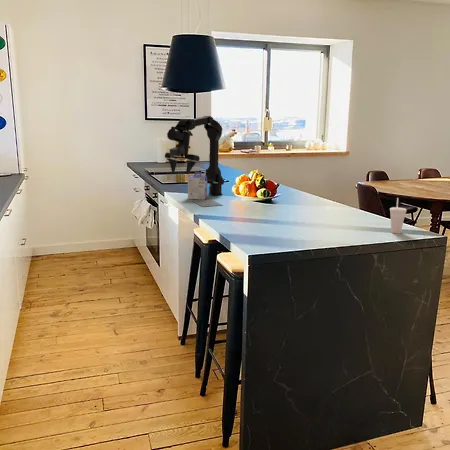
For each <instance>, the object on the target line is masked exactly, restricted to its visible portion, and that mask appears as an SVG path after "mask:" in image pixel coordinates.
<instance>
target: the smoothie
mask: <svg viewBox="0 0 450 450" xmlns="http://www.w3.org/2000/svg"><path fill="white" fill-rule="evenodd" d="M389 211H390V213H389V214H390V215H389V216H390V233H392V234H396V235H397V234H401V233H402V230H403V225H404V220H405V218H406V213H407V208H404V207H399V197H396V206H392V207H390V208H389Z"/></svg>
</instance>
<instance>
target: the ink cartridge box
mask: <svg viewBox="0 0 450 450" xmlns="http://www.w3.org/2000/svg"><path fill="white" fill-rule="evenodd" d="M187 200H208V184H207V176H202V172H201V171H195V172H194V175H190V176H187Z"/></svg>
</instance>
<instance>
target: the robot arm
mask: <svg viewBox="0 0 450 450" xmlns="http://www.w3.org/2000/svg"><path fill="white" fill-rule="evenodd" d="M200 126H203V128H204V129H205V131H206V136H207V138H208V139H209V159H208V160H209V161H208V164H209V165H208V168H206V169H205V176H207V185H208V184H209V186H208V192H207V195H210V196H223V193H222V189H223V188H222V186H223V185H225V179H224V178H223V176H222V170H221V169H220V167H219V143H220V142H219V141H220V139H221V137H222V134H223V133H222V132H223V126H222V125H221V124H220V123H219V122H218V121H217V120H216V119H214V117H213V116H211V115H204V116H201V117H196V118H179V119H178V122H177V124H176V125H175V126H171V127H170V129H168V130H167V133H166V135H167V136H166V137H167V139H168V140H170V141H173V142H177V144H175V147H172V148H169V152H165V153H164V159H166V160H167V161H168V163H169V164H170V169H171V173H173V174H174V173H175V171H176V168H177V164H178V163H177V162H178V160H177V159H182V160H185V161H186V164H187V165H186V171H185V172H186V173H185V174H186V175H189V174H190V172H191V171H192V169H193V167H194V166H195V165H196V164H197V163H198V162H200V156H199V155H197V154H191V153H189V149H191V146H190V141H191V140H190V139H191V137H193V135H194V134H193V133H192V130H194V129H196V127H200Z"/></svg>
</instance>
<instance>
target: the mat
mask: <svg viewBox="0 0 450 450" xmlns="http://www.w3.org/2000/svg"><path fill="white" fill-rule="evenodd" d="M191 202H192V203H194V204H196V205H198V206H199V207H202V208H207V207H218V206H219V207H222V206H224V205H223V204H221V203H220V202H217V201H215V200H213V199H205V200H203V199H197V200H192V201H191Z"/></svg>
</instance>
